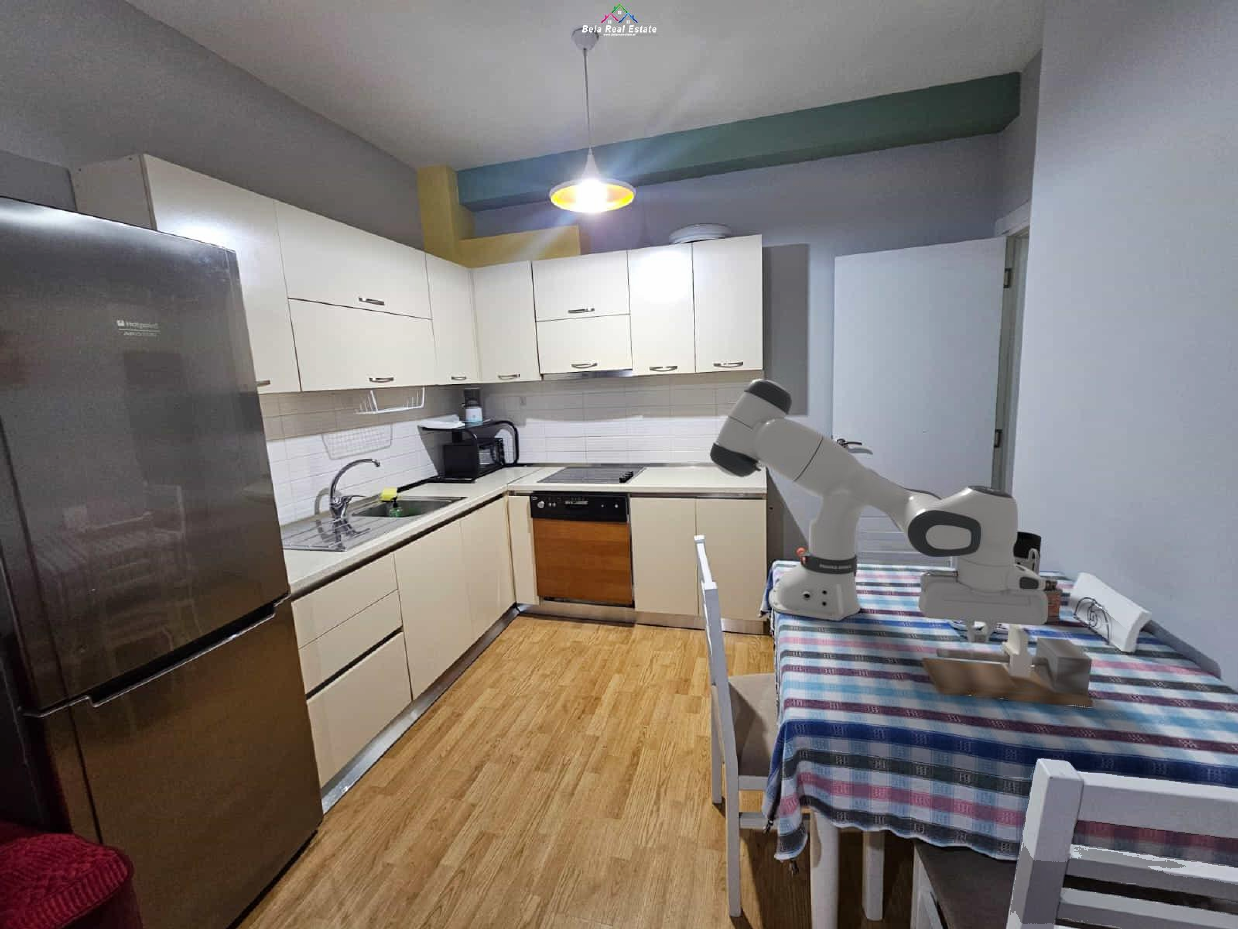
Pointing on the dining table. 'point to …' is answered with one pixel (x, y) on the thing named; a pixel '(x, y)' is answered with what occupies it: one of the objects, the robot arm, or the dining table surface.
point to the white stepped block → (1017, 652)
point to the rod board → (1050, 682)
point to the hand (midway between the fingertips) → (977, 641)
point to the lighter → (1052, 599)
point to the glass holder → (1027, 551)
